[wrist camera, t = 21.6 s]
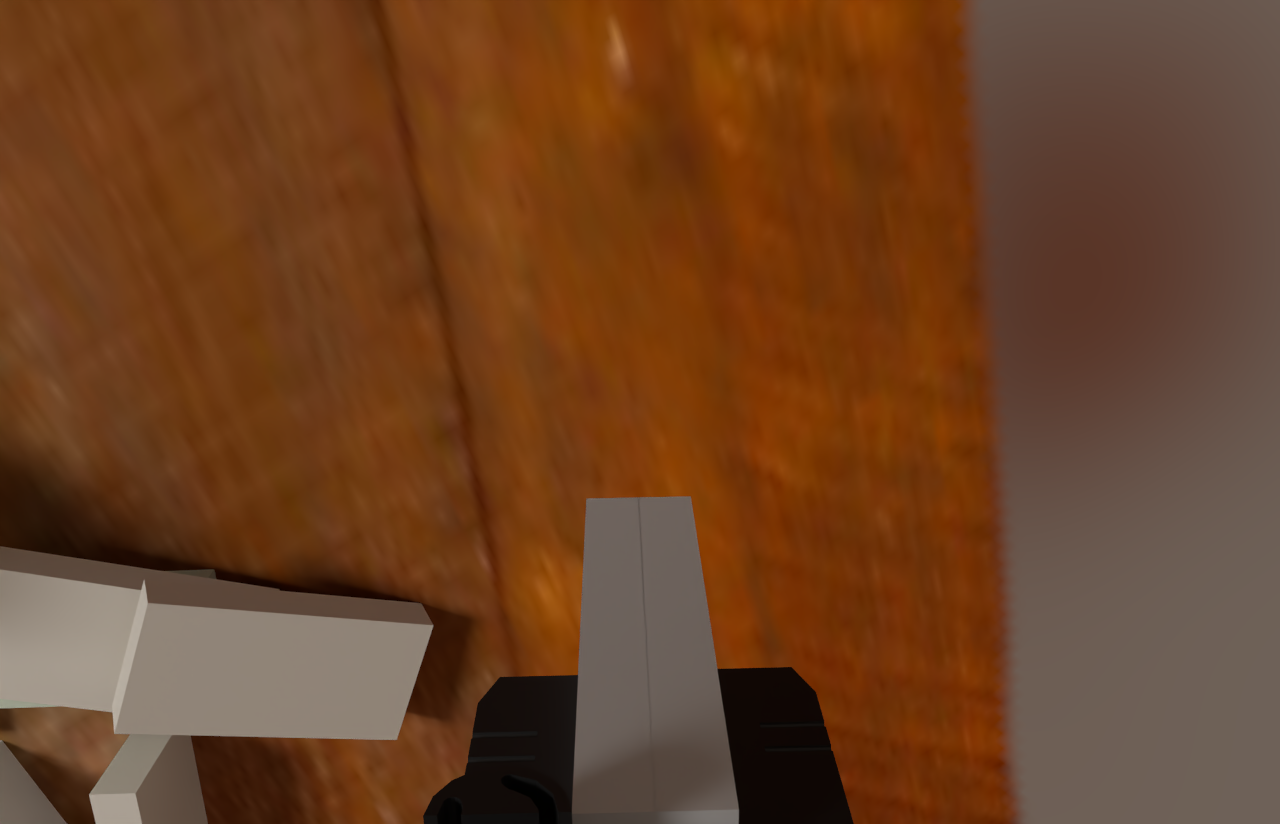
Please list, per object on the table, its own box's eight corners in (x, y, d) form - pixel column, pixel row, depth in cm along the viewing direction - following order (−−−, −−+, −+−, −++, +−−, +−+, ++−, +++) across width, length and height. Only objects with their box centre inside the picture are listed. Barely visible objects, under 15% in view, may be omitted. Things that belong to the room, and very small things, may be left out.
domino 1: (254, 703, 52) (-31, 668, 49) (279, 589, 51) (-14, 544, 48) (249, 728, 51) (-48, 693, 47) (275, 610, 49) (-30, 564, 46)
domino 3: (385, 714, 54) (111, 705, 47) (421, 603, 52) (144, 578, 46) (396, 739, 52) (114, 733, 46) (433, 625, 51) (147, 603, 44)
